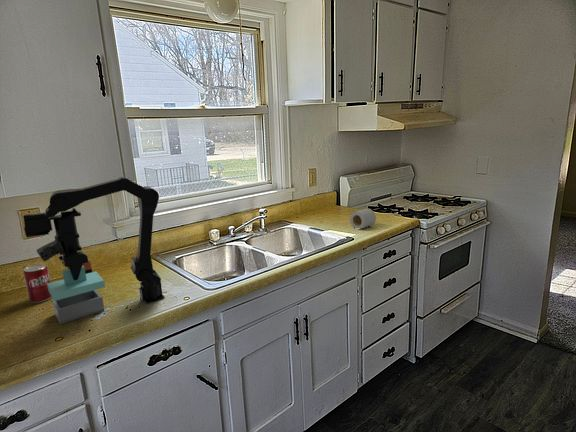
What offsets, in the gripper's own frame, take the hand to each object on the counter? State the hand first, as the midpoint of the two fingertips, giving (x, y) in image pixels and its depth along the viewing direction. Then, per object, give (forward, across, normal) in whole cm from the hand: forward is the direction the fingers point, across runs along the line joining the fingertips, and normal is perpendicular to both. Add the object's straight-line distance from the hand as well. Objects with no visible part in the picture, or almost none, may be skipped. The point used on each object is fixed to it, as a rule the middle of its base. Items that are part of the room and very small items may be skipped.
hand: (75, 278), depth 122 cm
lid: (+3, 0, 0) cm, 3 cm away
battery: (+13, -30, +6) cm, 33 cm away
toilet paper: (+14, -4, +143) cm, 144 cm away
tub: (+13, -3, 0) cm, 13 cm away
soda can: (+13, -24, -9) cm, 29 cm away
